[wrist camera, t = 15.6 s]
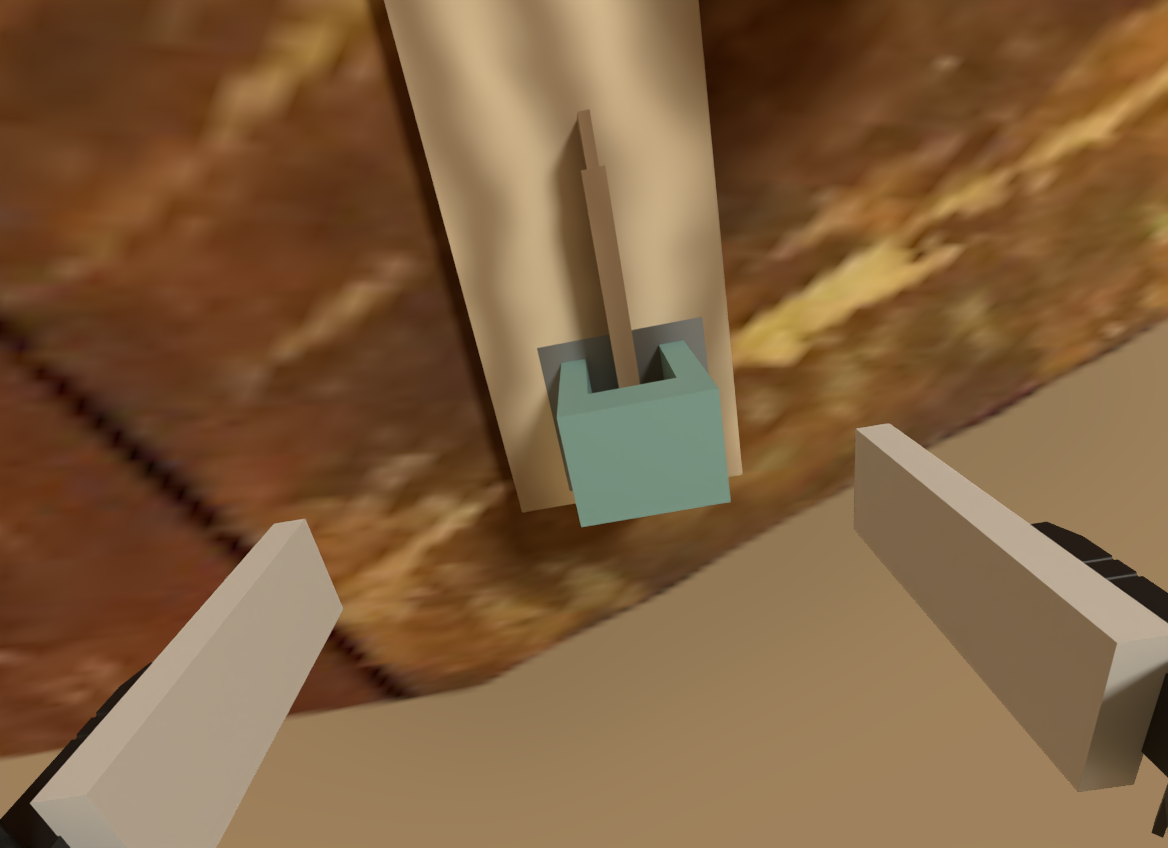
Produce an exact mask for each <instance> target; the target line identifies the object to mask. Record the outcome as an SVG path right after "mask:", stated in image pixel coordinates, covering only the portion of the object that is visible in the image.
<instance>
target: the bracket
mask: <svg viewBox="0 0 1168 848" xmlns="http://www.w3.org/2000/svg"><path fill="white" fill-rule="evenodd" d="M659 349H660V356H661V363H662V370H663V377H664V380H662V381H656V382H651V383H646V384H640V385H635V386H629V387H624V388H619V389H613V390H608V391H602V392H597V393H592V389H591V384H590V379H589V374H588V369H587V364H586V359H581V360H576V361H570V362H565V363H561V373H560V385H559V396H558V408H557V422H558V426H559V431H560V435H561V440H562V444H563V449H564V453H565V457H566V462H567V466H568V471H569V475H570V480H571V484H572V488H573V493H574V497H575V502H576V506H577V511H578V515H579V519H580V524H581V527H586V526H592V525H598V524H603V523H609V522H615V521H621V520H627V519H633V518H639V517H645V516H650V515H656V514H662V513H668V512H674V511H680V510H686V509H692V508H697V507H703V506H709V505H715V504H721V503H727V502H731V500H730V491H729V481H728V471H727V462H726V452H725V442H724V433H723V423H722V414H721V404H720V394H719V388H718V387H717V385H716V384H715V382H714V381H713V380H712V378H711V377H710V376H709V374H708V373H707V372H706V370H705V369H704V367H703V366H702V365H701V363H700V362H699V361H698V359H697V358H696V357H695V355H694V354H693V352H692V351H691V350H690V348H689V347H688V346H687V344H686V343H685V341H684V340H682V341H677V342H671V343H666V344H661V345H659Z"/></svg>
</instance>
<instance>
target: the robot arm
mask: <svg viewBox="0 0 1168 848" xmlns="http://www.w3.org/2000/svg"><path fill="white" fill-rule="evenodd" d="M854 530H855V531H856V532H857V533H858V535H859V536H860V537H861V538H862V539H863V540H864V542H865V543H866V544H867V545H868V546H869V547H870V549H871V550H872V551H873V552H874V553H875V555H876V556H877V557H878V558H879V559H880V560H881V562H882V563H883V564H884V565H885V566H886V567H887V569H888V570H889V571H890V572H891V573H892V574H893V576H894V577H895V578H896V579H897V580H898V582H900V584H901V585H902V586H903V587H904V589H905V590H906V591H907V592H908V593H909V594H910V596H911V597H912V598H913V599H914V600H915V601H916V603H917V604H918V605H919V606H920V607H921V608H922V610H923V611H924V612H925V613H926V614H927V616H928V617H929V618H930V619H931V620H932V621H933V623H934V624H935V625H936V626H937V627H938V628H939V630H940V631H941V632H942V633H943V634H944V635H945V637H946V638H947V639H948V640H949V641H950V643H951V644H952V645H953V646H954V647H955V648H956V650H957V651H958V652H959V653H960V654H961V655H962V656H963V658H964V659H965V660H966V661H967V662H968V664H969V665H970V666H971V667H972V668H973V669H974V671H975V672H976V673H977V674H978V675H979V676H980V678H981V679H982V680H983V681H984V682H985V684H986V685H987V686H988V687H989V688H990V689H991V691H992V692H993V693H994V694H995V695H996V696H997V698H998V699H999V700H1000V701H1001V702H1002V704H1003V705H1004V706H1005V707H1006V708H1007V709H1008V711H1009V712H1010V713H1011V714H1012V715H1013V716H1014V718H1015V719H1016V720H1017V721H1018V722H1019V723H1020V725H1021V726H1022V727H1023V728H1024V729H1025V731H1026V732H1027V733H1028V734H1029V735H1030V736H1031V738H1032V739H1033V740H1034V741H1035V742H1036V743H1037V745H1038V746H1039V747H1040V748H1041V749H1042V750H1043V751H1044V753H1045V754H1046V755H1047V756H1048V757H1049V759H1050V760H1051V761H1052V762H1053V763H1054V765H1055V766H1056V767H1057V768H1058V769H1059V770H1060V772H1061V773H1062V774H1063V775H1064V776H1065V777H1066V779H1067V780H1068V781H1069V782H1070V783H1071V784H1072V786H1073V787H1074V788H1075V789H1076V790H1077V791H1078V792H1083V791H1089V790H1097V789H1104V788H1112V787H1119V786H1126V785H1133V784H1134V782H1135V779H1136V776H1137V773H1138V770H1139V766H1140V763H1141V760H1142V757H1143V754H1144V755H1145V756H1146V757H1147V758H1148V759H1150V761H1152V762H1153V763H1154V764H1155V765H1156V766H1157V767H1158V768H1159V769H1160V770H1161V771H1162V772H1163V773H1164V774H1165V775H1166V776H1167V777H1168V593H1167V592H1165V591H1164V590H1162V589H1161V588H1160V587H1158V586H1157V585H1155V584H1154V583H1152V582H1151V581H1149V580H1148V579H1146V578H1145V577H1143V576H1141V577H1138V576H1137V574H1136V571H1134V570H1133V569H1131V568H1130V567H1128V566H1127V565H1125V564H1123V563H1122V562H1121V561H1119V560H1113V558H1112V555H1110V554H1109V553H1107V552H1106V551H1104V550H1103V549H1101V548H1100V547H1098V546H1097V545H1095V544H1094V543H1092V542H1091V541H1089V540H1088V539H1086V538H1085V537H1083V536H1081V535H1078V534H1076V533H1073V532H1071V531H1069V530H1066V529H1064V528H1061V527H1058V526H1056V525H1054V524H1051V523H1049V522H1042V523H1035V524H1029V523H1027V522H1026V521H1024V520H1023V519H1022V518H1020V517H1019V516H1018V515H1016V514H1015V513H1013V512H1012V511H1011V510H1009V509H1008V508H1006V507H1005V506H1004V505H1002V504H1001V503H999V502H998V501H996V500H995V499H994V498H992V497H991V496H990V495H988V494H987V493H985V492H984V491H983V490H981V489H980V488H979V487H977V486H976V485H974V484H973V483H972V482H970V481H969V480H967V479H966V478H965V477H963V476H962V475H960V474H959V473H958V472H956V471H955V470H954V469H952V468H951V467H949V466H948V465H946V464H945V463H944V462H942V461H941V460H940V459H938V458H937V457H935V456H934V455H933V454H931V453H930V452H928V451H927V450H926V449H924V448H923V447H922V446H920V445H919V444H917V443H916V442H915V441H913V440H912V439H910V438H909V437H908V436H906V435H905V434H903V433H902V432H901V431H899V430H898V429H896V428H895V427H894V426H892V425H891V424H889V423H888V424H882V425H876V426H870V427H864V428H858V429H856V446H855V489H854ZM342 610H343V607H342V605H341V603H340V600H339V598H338V595H337V593H336V591H335V588H334V586H333V584H332V581H331V579H330V576H329V574H328V572H327V569H326V567H325V565H324V562H323V560H322V557H321V555H320V553H319V550H318V548H317V546H316V543H315V541H314V539H313V536H312V534H311V531H310V529H309V527H308V524H307V522H306V520H305V519H300V520H294V521H288V522H282V523H276V524H274V525H273V526H272V527H271V528H270V529H269V530H268V531H267V533H266V534H265V535H264V536H263V537H262V538H261V539H260V541H259V542H258V543H257V544H256V545H255V546H254V547H253V549H252V550H251V551H250V552H249V553H248V554H247V555H246V557H245V558H244V559H243V560H242V561H241V562H240V563H239V565H238V566H237V567H236V568H235V569H234V570H233V571H232V573H231V574H230V575H229V576H228V577H227V578H226V579H225V581H224V582H223V583H222V584H221V585H220V586H219V587H218V589H217V590H216V591H215V592H214V593H213V594H212V595H211V597H210V598H209V599H208V600H207V601H206V602H205V603H204V605H203V606H202V607H201V608H200V609H199V610H198V611H197V613H196V614H195V615H194V616H193V617H192V618H191V619H190V621H189V622H188V623H187V624H186V625H185V626H184V627H183V629H182V630H181V631H180V632H179V633H178V634H177V635H176V637H175V638H174V639H173V640H172V641H171V642H170V643H169V645H168V646H167V647H166V648H165V649H164V650H163V651H162V653H161V654H160V655H159V656H158V657H157V658H156V660H155V661H154V662H153V663H149V664H148V665H147V666H145V667H144V668H143V669H142V670H140V671H139V672H138V673H136V674H135V675H134V676H133V677H131V678H130V679H129V680H128V681H126V682H125V683H124V684H122V685H121V686H120V687H119V688H118V689H117V690H116V691H115V692H114V694H113V695H112V696H111V697H110V698H109V699H108V700H107V701H106V702H105V704H104V705H103V706H102V707H101V708H100V709H99V710H98V711H97V712H96V713H97V715H96V717H94V718H91V719H90V720H89V721H88V722H87V724H86V725H85V726H84V727H83V728H82V729H81V730H80V731H79V732H78V734H77V738H76V739H75V740H71V741H70V742H69V744H68V745H67V746H66V747H65V748H64V749H63V750H62V751H61V752H60V754H59V755H58V756H57V757H56V758H55V759H54V760H53V761H52V762H51V764H50V765H49V766H48V767H47V768H46V769H45V770H44V771H43V772H42V774H41V775H40V776H39V777H38V778H37V779H36V780H35V782H34V783H33V784H32V785H31V786H30V787H29V788H28V789H27V790H26V791H25V793H24V794H23V795H22V796H21V797H20V798H19V799H18V800H17V801H16V803H15V804H14V805H13V806H12V807H11V808H10V809H9V810H8V812H7V813H6V814H5V815H4V816H3V817H2V818H1V819H0V848H216V847H217V845H218V843H219V842H220V840H221V838H222V836H223V834H224V832H225V830H226V829H227V827H228V825H229V823H230V821H231V819H232V817H233V815H234V813H235V812H236V810H237V808H238V806H239V804H240V802H241V800H242V798H243V796H244V795H245V793H246V791H247V789H248V787H249V785H250V783H251V781H252V780H253V778H254V776H255V774H256V772H257V770H258V768H259V766H260V765H261V763H262V761H263V759H264V757H265V755H266V753H267V751H268V749H269V747H270V746H271V744H272V742H273V740H274V738H275V736H276V734H277V732H278V730H279V729H280V727H281V725H282V723H283V721H284V719H285V717H286V716H287V714H288V712H289V710H290V708H291V706H292V704H293V702H294V701H295V699H296V697H297V695H298V693H299V691H300V689H301V687H302V686H303V684H304V682H305V680H306V678H307V676H308V674H309V672H310V670H311V669H312V667H313V665H314V663H315V661H316V659H317V657H318V655H319V654H320V652H321V650H322V648H323V646H324V644H325V642H326V640H327V638H328V637H329V635H330V633H331V631H332V629H333V627H334V625H335V623H336V622H337V620H338V618H339V616H340V614H341V612H342ZM1167 826H1168V785H1167V788H1166V790H1165V793H1164V796H1163V799H1162V802H1161V804H1160V807H1159V810H1158V813H1157V816H1156V818H1155V822H1154V826H1153V830H1152V833H1153V834H1156V835H1158V836H1160V837H1163V836H1164V834H1165V831H1166V828H1167Z"/></svg>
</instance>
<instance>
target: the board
mask: <svg viewBox="0 0 1168 848" xmlns="http://www.w3.org/2000/svg"><path fill="white" fill-rule="evenodd" d="M384 3H385V6H386V10H387V14H388V18H389V21H390V25H391V29H392V32H393V36H394V40H395V43H396V47H397V51H398V55H399V58H400V62H401V66H402V69H403V73H404V77H405V81H406V84H407V88H408V92H409V95H410V99H411V103H412V106H413V110H414V114H415V118H416V121H417V125H418V129H419V132H420V136H421V140H422V144H423V147H424V151H425V155H426V158H427V162H428V166H429V169H430V173H431V177H432V181H433V184H434V188H435V192H436V195H437V199H438V203H439V206H440V210H441V214H442V218H443V221H444V225H445V229H446V232H447V236H448V240H449V244H450V247H451V251H452V255H453V258H454V262H455V266H456V269H457V273H458V277H459V281H460V284H461V288H462V292H463V295H464V299H465V303H466V307H467V310H468V314H469V318H470V321H471V325H472V329H473V332H474V336H475V340H476V344H477V347H478V351H479V355H480V358H481V362H482V366H483V369H484V373H485V377H486V381H487V384H488V388H489V392H490V395H491V399H492V403H493V407H494V410H495V414H496V418H497V421H498V425H499V429H500V432H501V436H502V440H503V444H504V447H505V451H506V455H507V458H508V462H509V466H510V470H511V473H512V477H513V481H514V484H515V488H516V492H517V495H518V499H519V503H520V507H521V510H522V513H523V512H529V511H535V510H540V509H546V508H552V507H558V506H563V505H569V504H575V503H576V502H575V497H574V493H573V488H572V484H571V480H570V475H569V471H568V466H567V462H566V457H565V453H564V449H563V444H562V440H561V435H560V431H559V426H558V422H557V408H558V396H559V385H560V373H561V363H565V362H570V361H576V360H581V359H586V364H587V369H588V374H589V379H590V384H591V389H592V393H597V392H602V391H608V390H613V389H619V388H624V387H629V386H635V385H640V384H646V383H651V382H656V381H662V380H664V377H663V370H662V363H661V356H660V349H659V345H661V344H666V343H671V342H677V341H682V340H684V341H685V343H686V344H687V346H688V347H689V348H690V350H691V351H692V352H693V354H694V355H695V357H696V358H697V359H698V361H699V362H700V363H701V365H702V366H703V367H704V369H705V370H706V372H707V373H708V374H709V376H710V377H711V378H712V380H713V381H714V382H715V384H716V385H717V387H718V388H719V394H720V404H721V414H722V423H723V433H724V442H725V452H726V462H727V471H728V477H731V476H737V475H742V465H741V454H740V443H739V432H738V421H737V410H736V400H735V389H734V378H733V367H732V356H731V346H730V335H729V324H728V313H727V302H726V291H725V281H724V270H723V259H722V248H721V237H720V227H719V216H718V205H717V194H716V183H715V172H714V162H713V151H712V140H711V129H710V118H709V108H708V97H707V86H706V75H705V64H704V53H703V43H702V32H701V21H700V10H699V0H384Z"/></svg>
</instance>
